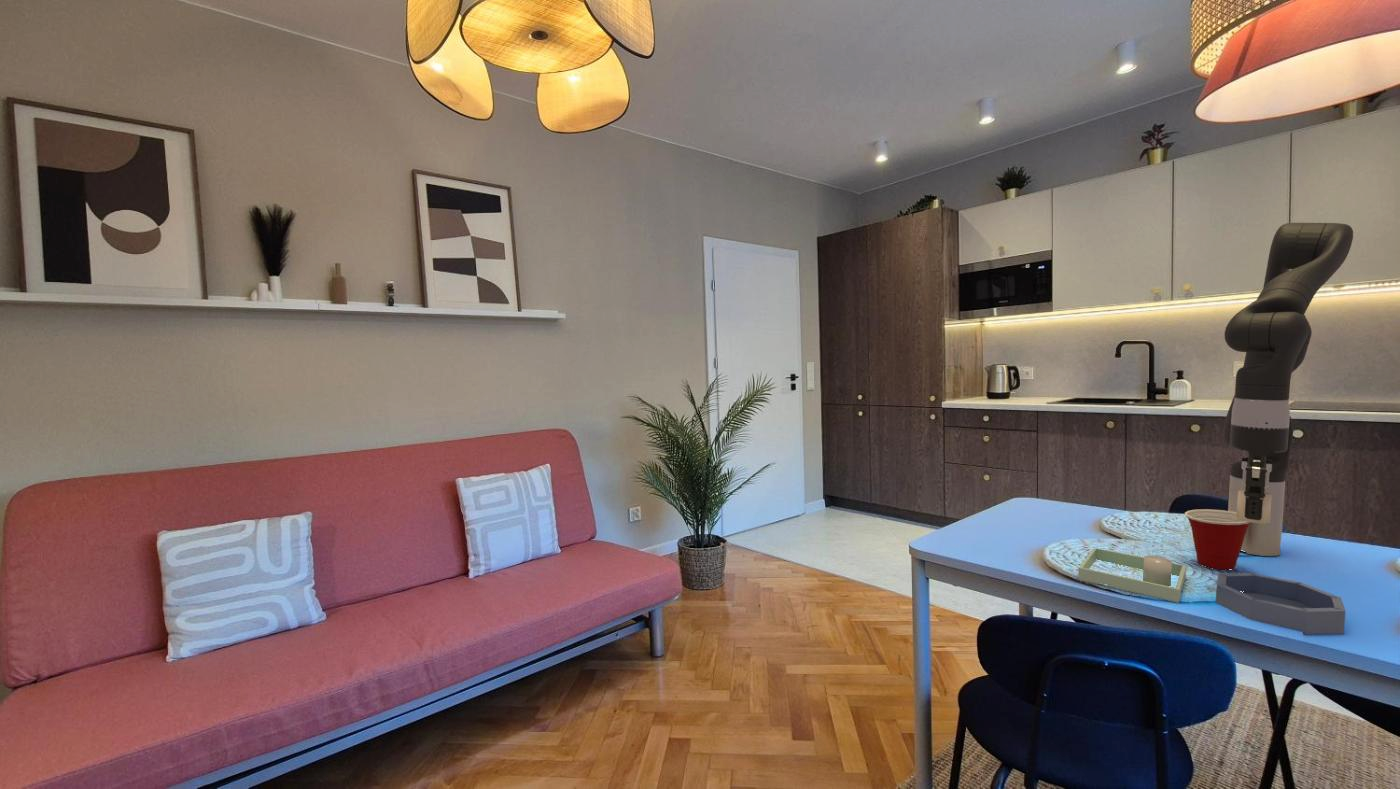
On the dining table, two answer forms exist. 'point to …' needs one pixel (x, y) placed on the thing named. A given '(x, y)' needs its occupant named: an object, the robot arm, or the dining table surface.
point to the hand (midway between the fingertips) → (1253, 515)
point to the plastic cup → (1217, 537)
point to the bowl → (1281, 603)
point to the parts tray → (1130, 583)
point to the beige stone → (1265, 508)
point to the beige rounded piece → (1157, 570)
